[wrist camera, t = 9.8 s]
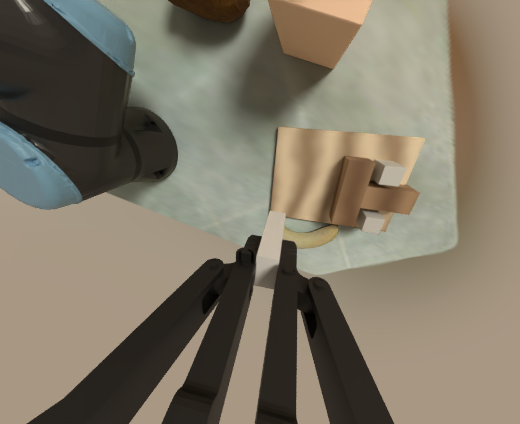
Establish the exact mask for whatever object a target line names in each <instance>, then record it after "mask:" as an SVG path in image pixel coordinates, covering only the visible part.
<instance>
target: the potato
mask: <svg viewBox="0 0 520 424" xmlns="http://www.w3.org/2000/svg"><path fill="white" fill-rule="evenodd" d="M168 1H170V2H171V3H172V4H174V5H176V6H178V7H180V8H183V9H185V10H187V11H190V12H192V13H195V14H197V15H199V16H201V17H203V18H206V19H209V20H213V21H217V22H222V23H224V22H230V21H233V20H235V19H237V18H238V17H240V16H241V15H242V14H243V13H244V12H245V10H246V9H247V8H248V7H249V5H250V0H168Z"/></svg>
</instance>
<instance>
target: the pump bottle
mask: <svg viewBox="0 0 520 424" xmlns="http://www.w3.org/2000/svg"><path fill="white" fill-rule="evenodd" d="M268 2H269V6H270V9H271V12H272V16H273V19H274V22H275V26H276V29H277V33H278V36H279V39H280V43H281V46H282V49H283V53H284V54H288V55H291V56H294V57H297V58H300V59H303V60H306V61H309V62H312V63H315V64H319V65H322V66H325V67H328V68H331V69H334V68H335V66H336V65H337V63H338V62H339V60H340V58H341V57H342V55H343V54H344V52H345V51H346V49H347V48H348V46H349V44H350V43H351V41H352V40H353V38H354V37H355V35H356V33H357V32H358V30H359V29H360V27H361V26H362V24H363V22H364V20H365V17H366V15H367V12H368V10H369V7H370V5H371V3H372V0H268Z"/></svg>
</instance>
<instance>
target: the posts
mask: <svg viewBox="0 0 520 424" xmlns="http://www.w3.org/2000/svg"><path fill="white" fill-rule="evenodd" d="M374 162H375V166H374V169H373V172H372V175H371V178H372V179H373V180H374V181H375V182H377V183H378V184H380V185H389V186H398V187H399V185H400V183H401V180H402V178H403V175H404V173H405V171H406V167H404V166H402V165H400V164H398V163H396V162H394V161H386V160H376V159H374ZM384 221H385V219H384V218H383V216H382V215H381V214H380V213H379V211H378V210H371V209H364V208H360V210H359V213H358V216H357V219H356V222H357V224H358V226H359V228H360V230H361V231H362V232H369V233H376V234H379V233H380V231H381V228H382V226H383V223H384Z"/></svg>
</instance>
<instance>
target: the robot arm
mask: <svg viewBox="0 0 520 424" xmlns="http://www.w3.org/2000/svg"><path fill="white" fill-rule="evenodd" d="M135 51H136V42H135V38H134V35H133V33H132V31H131V30H130V28H129V27H128V26H127V24H126V23H125V22H124V21H123V20H121V19H120V18H119V17H118V16H117V15H115V14H114V13H113V12H112V11H110V10H109V9H108V8H106V7H105V6H104V5H103V4H101V3H100V2H99V1H97V0H0V188H2V189H3V190H4V191H6V192H7V193H8V194H10V195H11V196H13V197H14V198H16V199H17V200H19V201H21V202H23V203H25V204H27V205H30V206H33V207H35V208H40V209H46V210H47V209H48V210H50V209H57V208H61V207H64V206H67V205H70V204H78V203H80V202H82V201H84V200H86V199H89V198H91V197H94V196H96V195H99V194H101V193H104V192H107V191H109V190H112V189H114V188H117V187H119V186H122V185H124V184H127V183H130V182H154V181H158V180H161V179H163V178H165V177H167V176H169V175H170V174H171V173H172V172H173V171H174V169H175V167H176V164H177V159H178V150H177V145H176V141H175V138H174V136H173V134H172V132H171V130H170V129H169V127H168V126H167V124H166V123H165V122H164V121H163V120H162V119H161V118H160V117H159V116H158V115H156V114H155V113H153V112H151V111H149V110H147V109H144V108H138V107H127V104H128V99H129V94H130V88H131V83H132V78H133V77H134V75H135V73H134V71H133V68H134V59H135ZM285 215H286V213H282V212H276V211H270V212H269V216H268V219H267V222H266V226H265V229H264V232H263V236H256V235H251V236H250V237H249V238H248V239H247V242H246V244H245V247H244V248H240V249H238V250H237V252H236V262H234V263H230V264H224V263H223V261H221V260H220V259H216V258H215V259H210V260H207V261H206V262H205V263H204V264H203V265H202V266H201V267H200V268H199V269H198V270H197V271H195V272H194V274H192V276H190V277H189V279H187V280H186V281H185V282H184V283H183V284H182V285H181V286H180V287H179V288H178V289H177V290H176V291H175V292H174V293H173V294H172V295H171V296H170V297H168V298H167V299H166V300H165V301H164V302H163V303H162V304H161V305H160V306H159V307H158V308H157V309H156V310H155V311H154V312H153V313H152V314H151V315H150V316H149V317H148V318H147V319H146V320H145V321H144V322H143V323H141V324H140V326H138V327H137V328H136V329H135V330H134V331H133V332H132V333H131V334H130V335H129V336H128V337H127V338H126V339H125V340H124V341H123V342H122V343H121V344H120V345H119V346H118V347H117V348H116V349H114V350H113V352H112V353H110V354H109V355H108V356H107V357H106V358H105V359H104V360H103V361H102V362H101V363H100V364H99V365H98V366H97V367H96V368H95V369H94V370H93V371H92V372H91V373H90V374H89V375H88V376H87V377H86V378H84V379H83V380H82V381H81V382H80V383H79V384H78V385H77V386H76V387H75V388H74V389H73V390H72V391H71V392H70V393H69V394H68V395H67V396H66V397H65V398H64V399H62V400H61V401H59V402H58V403H57V404H55V405H54V406H52V407H50V408H49V409H48V410H46V411H45V412H43V413H42V414H40V415H39V416H37V417H36V418H34V419H33V420H32V421H30V422H29V423H27V424H129V423H130V421H131V420H132V419H133V417H134V416H135V415H136V413H137V412H138V410H139V409H140V408H141V406H142V405H143V404H144V402H145V401H146V400H147V398H148V397H149V395H150V394H151V393H152V392H153V390H154V389H155V387H156V386H157V385H158V383H159V382H160V381H161V379H162V378H163V377H164V375H165V374H166V373H167V371H168V370H169V368H170V367H171V366H172V364H173V363H174V362H175V360H176V359H177V358H178V356H179V355H180V353H181V352H182V351H183V349H184V348H185V347H186V345H187V344H188V343H189V341H190V340H191V339H192V337H193V336H194V335H195V333H196V332H197V331H198V329H199V328H200V326H201V325H202V324H203V322H204V321H205V320H206V318H207V317H208V316H209V314H210V313H211V312H212V310H213V309H214V308H215V306H216V305H217V303H218V302H219V303H218V305H217V307H216V310H215V312H214V315H213V317H212V319H211V322H210V324H209V326H208V329H207V331H206V333H205V336H204V338H203V340H202V343H201V345H200V347H199V350H198V352H197V354H196V357H195V359H194V361H193V364H192V366H191V369H190V371H189V373H188V376H187V378H186V380H185V382H184V384H183V386H182V387H181V388H180V389H179V390H178V391H177V392H176V394H175V395H174V397H173V399H172V402H171V403H170V406H169V408H168V410H167V412H166V415H165V417H164V419H163V422H162V424H219V421H220V417H221V413H222V409H223V405H224V401H225V397H226V393H227V390H228V386H229V381H230V378H231V374H232V370H233V366H234V362H235V359H236V355H237V351H238V347H239V343H240V339H241V335H242V331H243V327H244V324H245V319H246V316H247V312H248V308H249V304H250V300H251V296H252V292H253V285H255V286H261V287H265V288H270V289H274V295H273V301H272V308H271V315H270V322H269V330H268V336H267V343H266V350H265V357H264V364H263V371H262V378H261V385H260V391H259V399H258V405H257V412H256V419H255V424H298V423H297V419H296V370H297V368H296V367H297V365H296V364H297V309H298V310H300V311H301V315H302V318H303V322H304V326H305V330H306V333H307V338H308V341H309V345H310V349H311V353H312V356H313V360H314V364H315V367H316V371H317V376H318V379H319V383H320V387H321V391H322V395H323V398H324V402H325V406H326V410H327V413H328V418H329V421H330V424H394V422H393V420H392V418H391V416H390V414H389V412H388V410H387V407H386V405H385V403H384V401H383V399H382V397H381V395H380V393H379V391H378V388H377V386H376V384H375V382H374V380H373V377H372V375H371V373H370V371H369V369H368V367H367V365H366V362H365V360H364V358H363V356H362V354H361V352H360V350H359V348H358V345H357V343H356V341H355V339H354V337H353V335H352V332H351V330H350V328H349V326H348V324H347V322H346V320H345V317H344V315H343V313H342V311H341V309H340V307H339V305H338V303H337V300H336V298H335V296H334V294H333V292H332V290H331V288H330V285H329V284H328V282H326V281H325V280H324V279H322V278H319V277H312V278H311V279H307V278H305V277H303V276H302V275H300V274H299V273H298V271H297V268H296V263H297V245H296V244H295V242H294V241H289V240H283V239H282V238H283V230H284V223H285Z"/></svg>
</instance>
